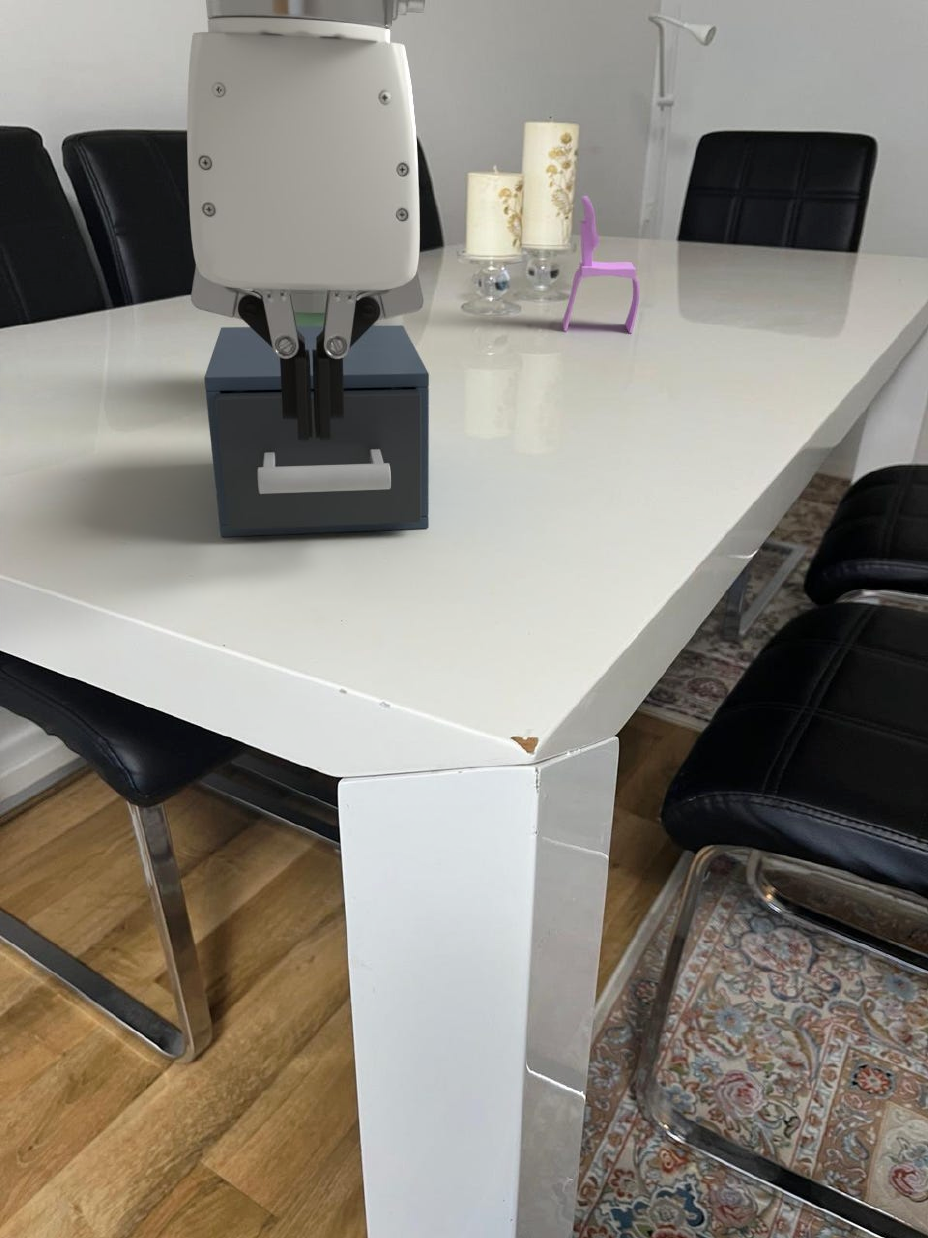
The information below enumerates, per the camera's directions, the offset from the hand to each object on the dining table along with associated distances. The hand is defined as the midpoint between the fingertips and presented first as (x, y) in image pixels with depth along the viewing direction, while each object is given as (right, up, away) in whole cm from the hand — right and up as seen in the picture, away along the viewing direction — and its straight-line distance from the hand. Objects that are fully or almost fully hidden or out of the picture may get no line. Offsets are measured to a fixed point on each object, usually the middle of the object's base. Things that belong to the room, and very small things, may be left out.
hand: (313, 432), depth 48 cm
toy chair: (+24, +27, +72) cm, 80 cm away
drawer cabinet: (-2, -1, +17) cm, 17 cm away
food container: (-7, +11, +39) cm, 42 cm away
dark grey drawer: (-1, -2, +13) cm, 13 cm away
